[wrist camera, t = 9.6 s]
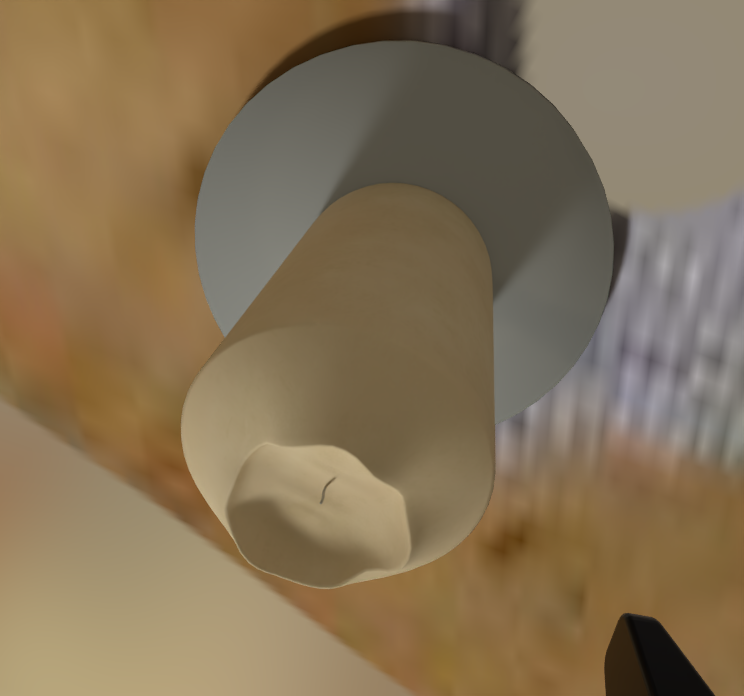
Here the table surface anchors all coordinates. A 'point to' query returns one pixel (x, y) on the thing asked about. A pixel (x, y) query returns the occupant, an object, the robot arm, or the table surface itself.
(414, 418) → the candle
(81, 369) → the table surface
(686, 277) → the table surface
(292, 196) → the slate plate
